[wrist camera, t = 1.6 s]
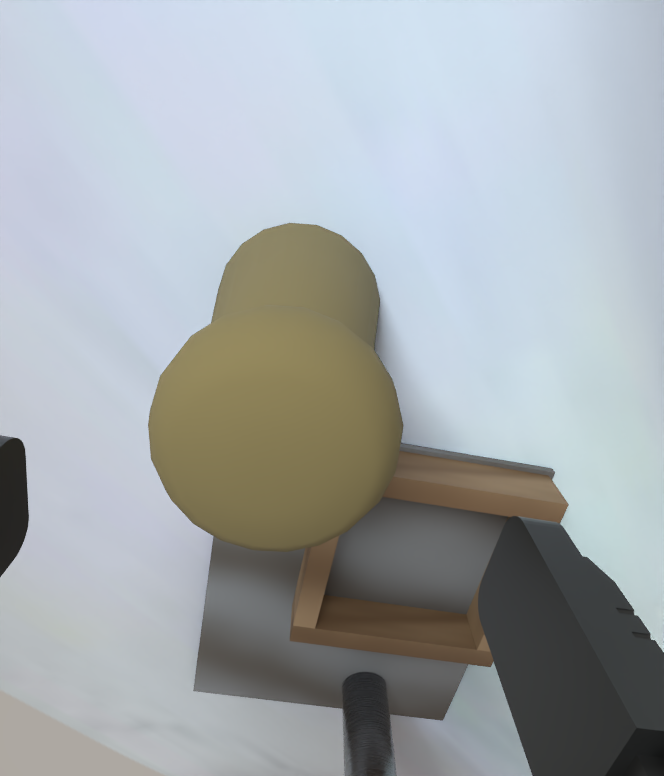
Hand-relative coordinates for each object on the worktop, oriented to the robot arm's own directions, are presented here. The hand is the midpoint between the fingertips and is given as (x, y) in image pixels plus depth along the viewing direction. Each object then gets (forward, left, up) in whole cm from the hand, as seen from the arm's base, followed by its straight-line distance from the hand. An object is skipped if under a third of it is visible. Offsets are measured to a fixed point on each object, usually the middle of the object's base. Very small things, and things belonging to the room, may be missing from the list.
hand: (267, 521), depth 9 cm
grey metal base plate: (+13, +5, -12) cm, 18 cm away
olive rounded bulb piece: (0, 0, -12) cm, 12 cm away
